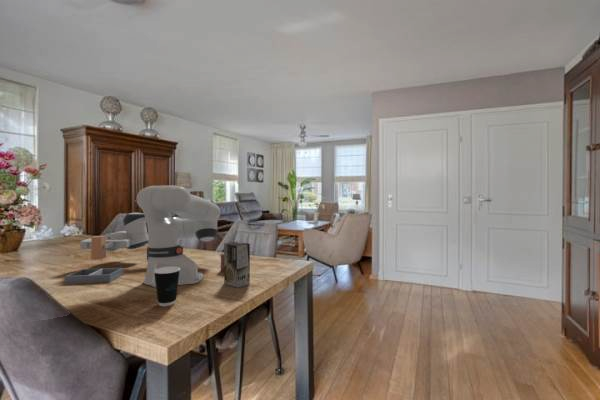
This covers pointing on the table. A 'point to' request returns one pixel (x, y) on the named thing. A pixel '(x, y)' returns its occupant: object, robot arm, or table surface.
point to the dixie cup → (166, 284)
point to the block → (98, 247)
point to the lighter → (222, 261)
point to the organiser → (94, 275)
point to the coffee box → (237, 264)
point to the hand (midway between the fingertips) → (97, 246)
